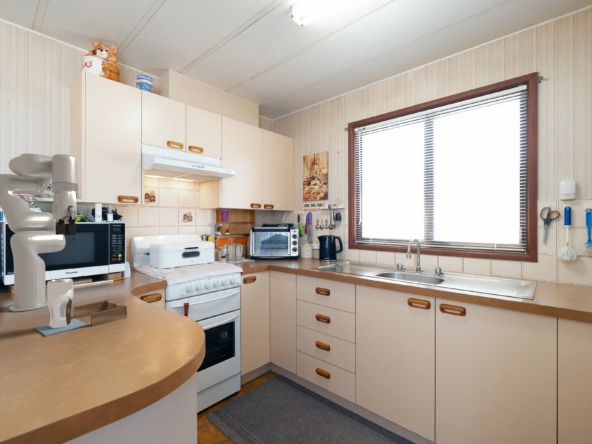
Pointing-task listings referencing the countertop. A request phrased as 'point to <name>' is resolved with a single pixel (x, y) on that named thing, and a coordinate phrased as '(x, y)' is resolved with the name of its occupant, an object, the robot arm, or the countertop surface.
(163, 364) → the countertop surface
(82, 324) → the mat
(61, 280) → the beer glass
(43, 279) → the robot arm
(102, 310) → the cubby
